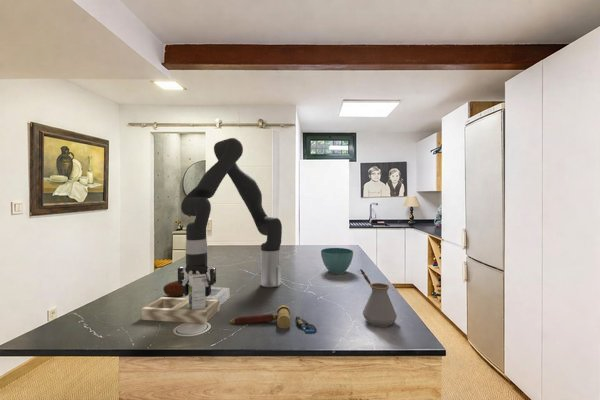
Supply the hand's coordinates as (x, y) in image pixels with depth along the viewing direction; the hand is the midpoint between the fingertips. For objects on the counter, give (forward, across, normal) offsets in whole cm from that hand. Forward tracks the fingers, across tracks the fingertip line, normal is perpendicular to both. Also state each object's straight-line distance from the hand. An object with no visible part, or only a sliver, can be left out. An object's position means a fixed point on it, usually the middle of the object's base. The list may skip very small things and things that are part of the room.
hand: (197, 295), depth 110 cm
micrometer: (+8, -40, +3) cm, 41 cm away
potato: (+8, +20, -19) cm, 29 cm away
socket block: (+7, +2, -14) cm, 16 cm away
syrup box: (+6, 0, 0) cm, 6 cm away
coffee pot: (+8, -64, -8) cm, 65 cm away
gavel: (+8, -24, +2) cm, 26 cm away
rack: (+7, +6, 0) cm, 10 cm away
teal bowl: (+8, -50, -68) cm, 85 cm away
